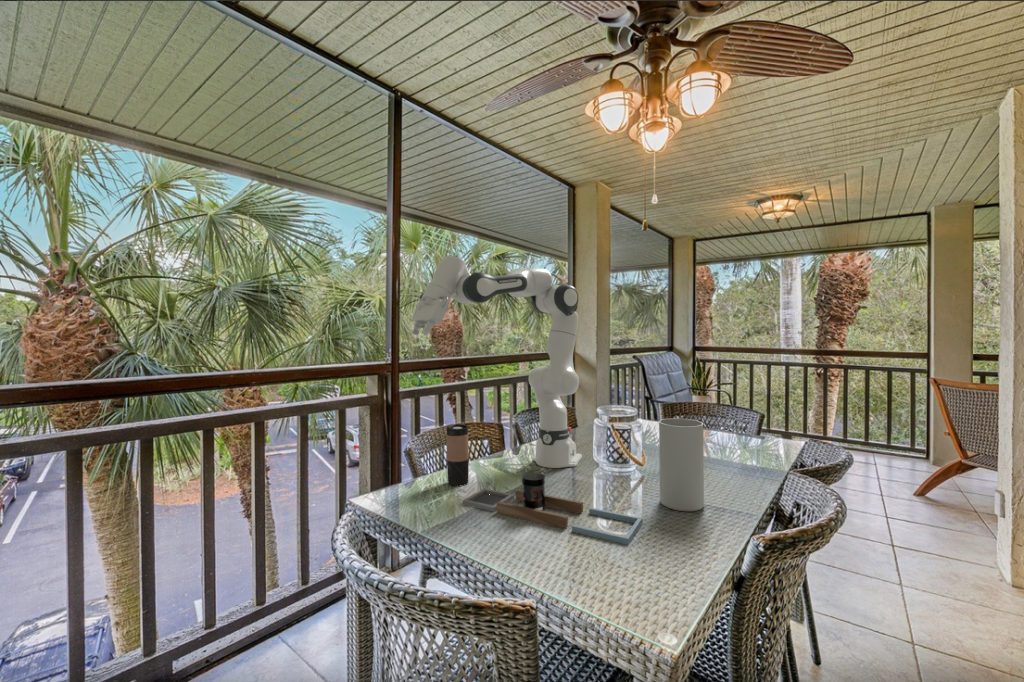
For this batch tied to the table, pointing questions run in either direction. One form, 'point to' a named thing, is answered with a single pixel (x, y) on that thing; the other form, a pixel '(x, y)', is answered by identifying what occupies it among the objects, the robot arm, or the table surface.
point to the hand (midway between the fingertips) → (419, 334)
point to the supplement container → (533, 491)
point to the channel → (539, 514)
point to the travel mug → (457, 455)
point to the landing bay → (611, 536)
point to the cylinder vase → (681, 464)
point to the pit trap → (487, 499)
